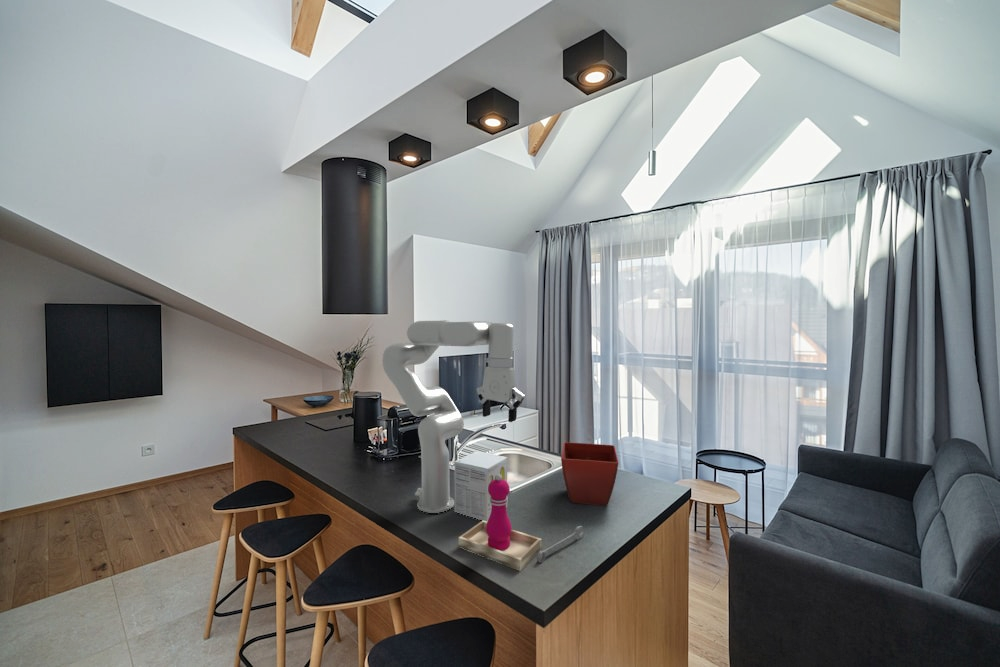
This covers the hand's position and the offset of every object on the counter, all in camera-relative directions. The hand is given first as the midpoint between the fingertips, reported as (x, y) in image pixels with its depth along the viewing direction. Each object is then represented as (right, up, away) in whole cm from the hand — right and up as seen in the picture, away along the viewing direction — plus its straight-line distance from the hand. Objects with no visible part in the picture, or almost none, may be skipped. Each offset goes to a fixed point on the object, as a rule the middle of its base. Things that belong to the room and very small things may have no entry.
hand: (499, 418), depth 128 cm
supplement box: (-6, -34, +12) cm, 36 cm away
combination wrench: (+18, -35, -11) cm, 41 cm away
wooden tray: (0, -34, -11) cm, 36 cm away
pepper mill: (0, -33, -11) cm, 35 cm away
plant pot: (+32, -33, +22) cm, 51 cm away
